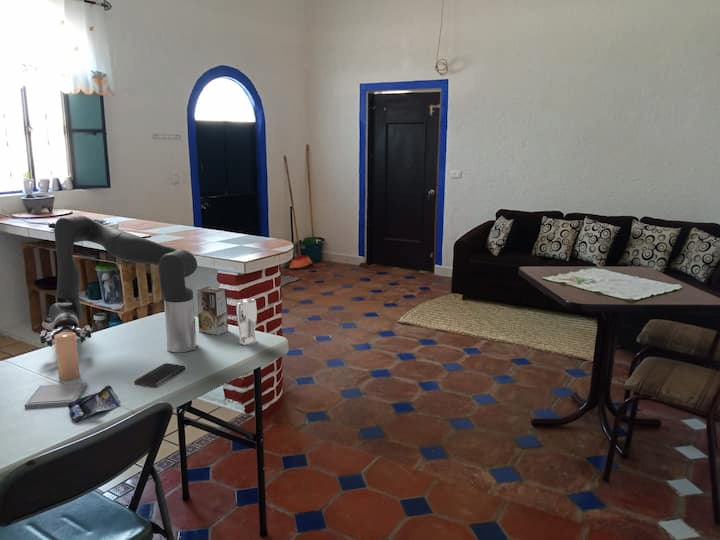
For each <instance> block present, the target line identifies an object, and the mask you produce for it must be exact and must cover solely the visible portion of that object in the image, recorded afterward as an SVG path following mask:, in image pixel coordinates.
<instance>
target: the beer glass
mask: <svg viewBox="0 0 720 540" xmlns="http://www.w3.org/2000/svg"><path fill="white" fill-rule="evenodd" d="M235 308H236V309H235V310H236V320H237V326H238V330H239V336H238V343H240V345H241V344H243V345H242V346H250V345H254V344H256V343H257V338H256V337H257V336H256V327H257V318H258V314H257V313H258V311H257V302H256V299H254V298H241V299H238V300H236V307H235Z"/></svg>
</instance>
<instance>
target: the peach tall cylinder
mask: <svg viewBox="0 0 720 540" xmlns="http://www.w3.org/2000/svg"><path fill="white" fill-rule="evenodd" d="M54 338H55V342H54V346H55V357H56V364H57V373H58V380H59V379H60V381H62V380H63V382H67V381H68V380H69V381H73V379H74V380H76V379H78V378H79V377H80V376H81V373H80V362H79V354H78V344H77V339H76V333H74V332H63V333H59V334H56V335H55V336H54Z"/></svg>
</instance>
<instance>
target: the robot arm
mask: <svg viewBox="0 0 720 540" xmlns="http://www.w3.org/2000/svg"><path fill="white" fill-rule="evenodd" d="M54 242H55V243H54V244H55V252H56V260H57V283H56V296H57V298H60V299H63V300H66V301H69V302H55V303H52V304H51V305H50V307H49V311H48V315H49V319H50V320H51V322H52V324H53V329H52V330H51V331H49V332H48V331H47V330H44V329H43V330H41V332H40V335H39V339H40V344H42V345H43V344H45V343H46V345H47V346H49V347H53V343H55V338H54V336H55V335H56V334H59V333H63V332H74V333H76V340H80V343H81V344H82V343H84V342H85V341H86V338H88V339H90V338H92V333H91V332H92V329H91V327H90V325H89V324H87V325H85V326H84V327H83V328H81V327H80V324H79V321H81V320H82V318H83V308H82V305H81V300H80V283H81V275H80V271H79V268H78V266H77V264H76V262H75V260H74V255H73V250H74V245H75V243H80V242H90V243H93V244H97V245H100V246H102V247H103V248H104V249H105V251H106V252H107V253H109V255H111V256H113V257H115V258H117V259H120V260H122V261H126V262H129V263H133V264H134V263H135V264H143V265H144V264H145V265H154V266H155V265H156V266H158V277H159V283H160V284H159V285H160V290H161V293H162V295H163V300H164V301H163V302H164V317H165V319H164V320H165V332H166V333H165V334H166V347H167V351H169V352H171V353H185V352H189V351H195V350H196V347H197V334H196V333H197V332H196V318H195V308H194V307H195V306H194V305H195V304H194V292H193V290H192V288H189V287H186V278H187V277H189V276H191V275H193V274H194V273H195V272H196V271H197V267H198V261H197V258H196V256H195V255H193V254H192V253H191V252H190V251H188V250H186V249H181V248H176V247H173V246H168V245H163V244H162V243H161V244H160V243H158V242H155V241H153V240H150V239H147V238H145V237H141V236H139V235H136V234H134V233H131V232H127V231H125V230H124V231H123V230H120V229H117V228H114V227H112V226H107V225H105V224H103V223H100V222H98V221H96V220H94V219H92V218H90V217H88V216H85V215H81V214H75V215H68V216H63V217H60V218H58V219H56V221H55V223H54Z"/></svg>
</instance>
